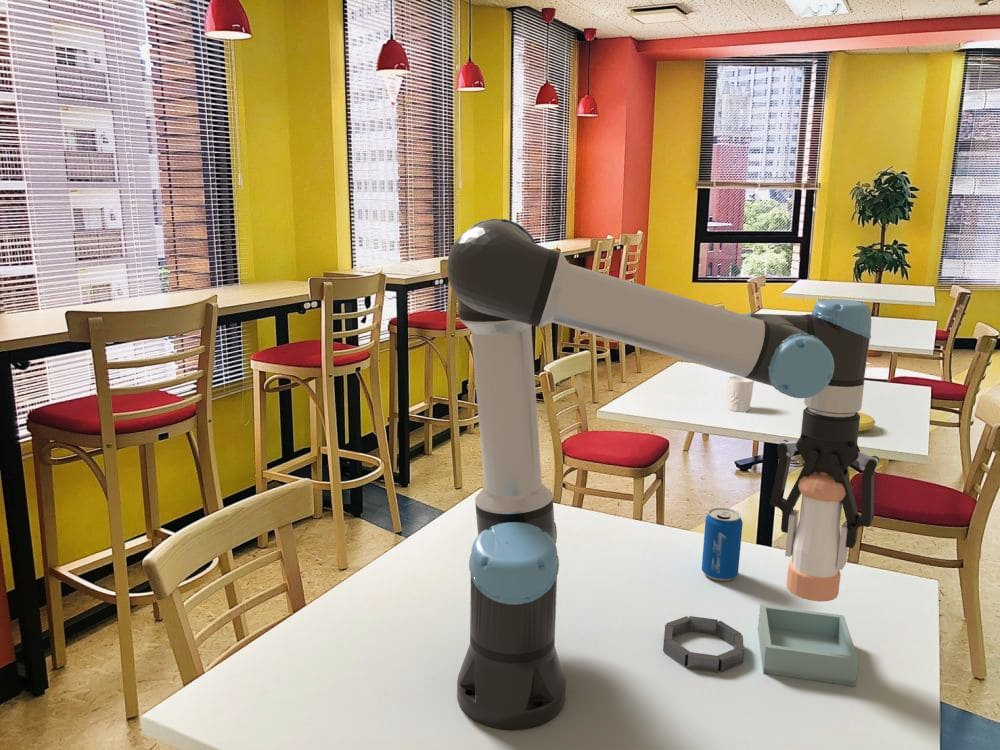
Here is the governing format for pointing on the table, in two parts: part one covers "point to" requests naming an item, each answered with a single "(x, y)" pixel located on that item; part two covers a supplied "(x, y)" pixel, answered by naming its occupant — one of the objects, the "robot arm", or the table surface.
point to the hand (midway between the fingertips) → (815, 559)
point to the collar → (698, 659)
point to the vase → (865, 422)
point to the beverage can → (722, 544)
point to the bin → (806, 645)
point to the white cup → (739, 393)
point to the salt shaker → (817, 539)
